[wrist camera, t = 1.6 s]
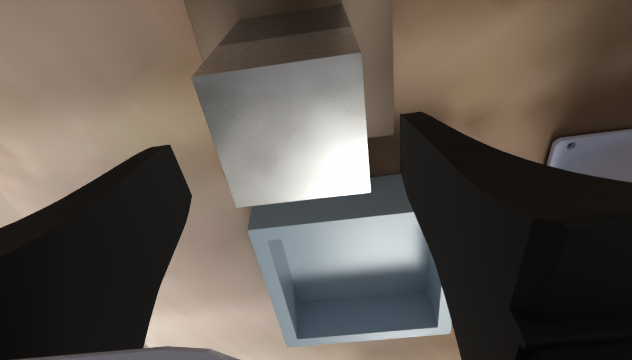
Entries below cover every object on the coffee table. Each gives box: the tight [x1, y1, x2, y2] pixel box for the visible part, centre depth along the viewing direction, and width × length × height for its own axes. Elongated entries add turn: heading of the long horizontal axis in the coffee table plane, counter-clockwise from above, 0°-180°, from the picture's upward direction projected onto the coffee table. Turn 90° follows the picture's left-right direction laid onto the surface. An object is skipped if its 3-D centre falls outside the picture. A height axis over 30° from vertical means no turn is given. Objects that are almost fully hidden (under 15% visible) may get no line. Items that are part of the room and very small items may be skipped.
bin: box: [247, 174, 452, 347], centre depth 27 cm, size 13×13×4 cm
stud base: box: [184, 0, 394, 138], centre depth 18 cm, size 10×10×5 cm
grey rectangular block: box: [191, 4, 371, 208], centre depth 16 cm, size 5×5×8 cm
